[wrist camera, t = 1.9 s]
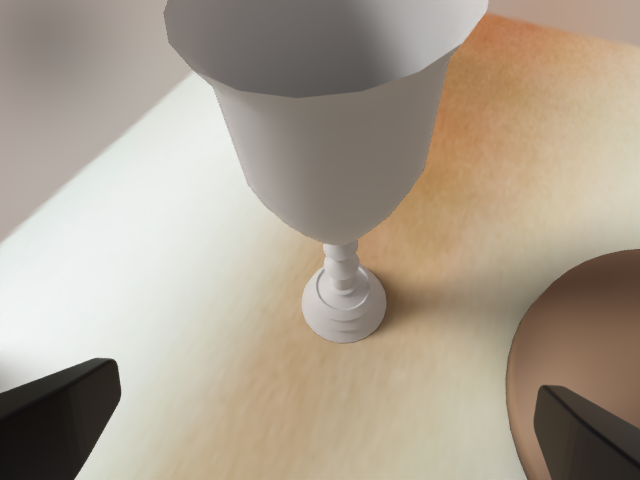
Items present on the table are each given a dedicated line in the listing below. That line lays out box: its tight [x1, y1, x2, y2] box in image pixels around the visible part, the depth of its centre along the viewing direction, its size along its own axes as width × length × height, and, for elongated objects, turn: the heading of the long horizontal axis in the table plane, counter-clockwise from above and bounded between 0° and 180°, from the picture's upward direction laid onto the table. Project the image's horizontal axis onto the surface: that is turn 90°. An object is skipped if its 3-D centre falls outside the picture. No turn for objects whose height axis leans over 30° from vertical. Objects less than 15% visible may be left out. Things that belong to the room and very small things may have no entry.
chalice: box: [164, 0, 489, 343], centre depth 16 cm, size 7×7×18 cm
